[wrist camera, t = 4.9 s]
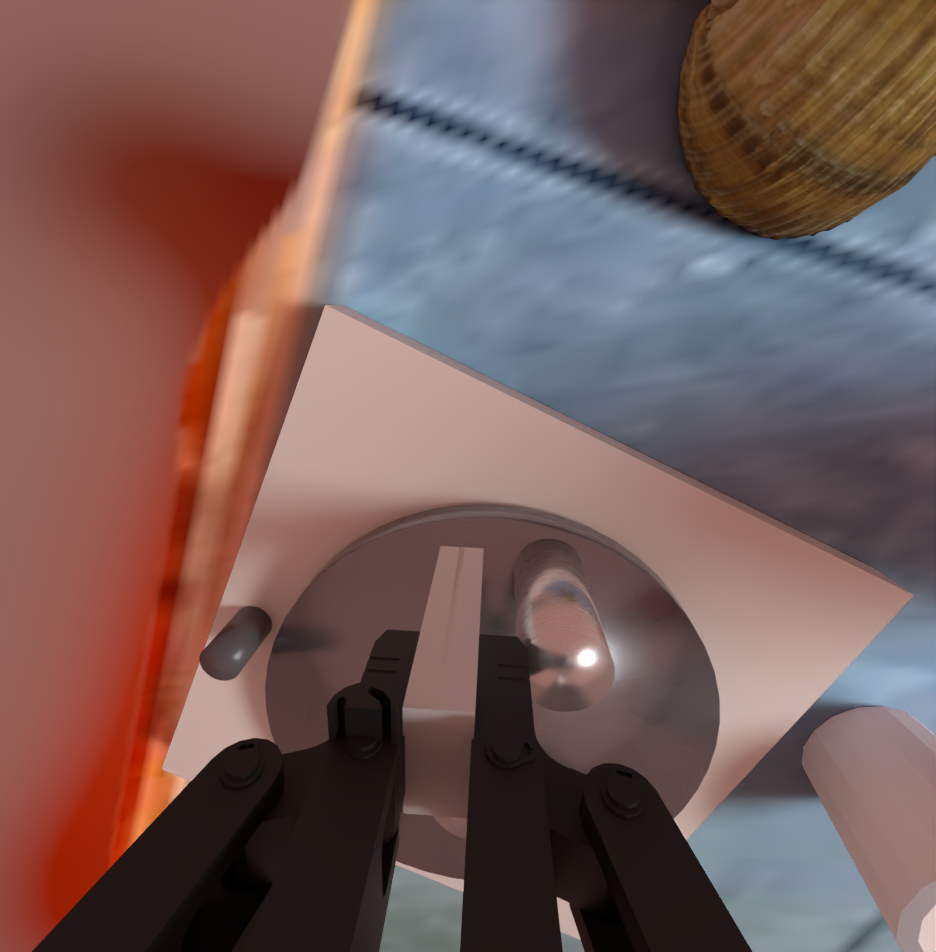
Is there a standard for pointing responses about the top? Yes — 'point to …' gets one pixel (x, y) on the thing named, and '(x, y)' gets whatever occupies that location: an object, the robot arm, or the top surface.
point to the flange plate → (579, 740)
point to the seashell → (807, 108)
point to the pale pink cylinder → (883, 810)
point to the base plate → (535, 487)
